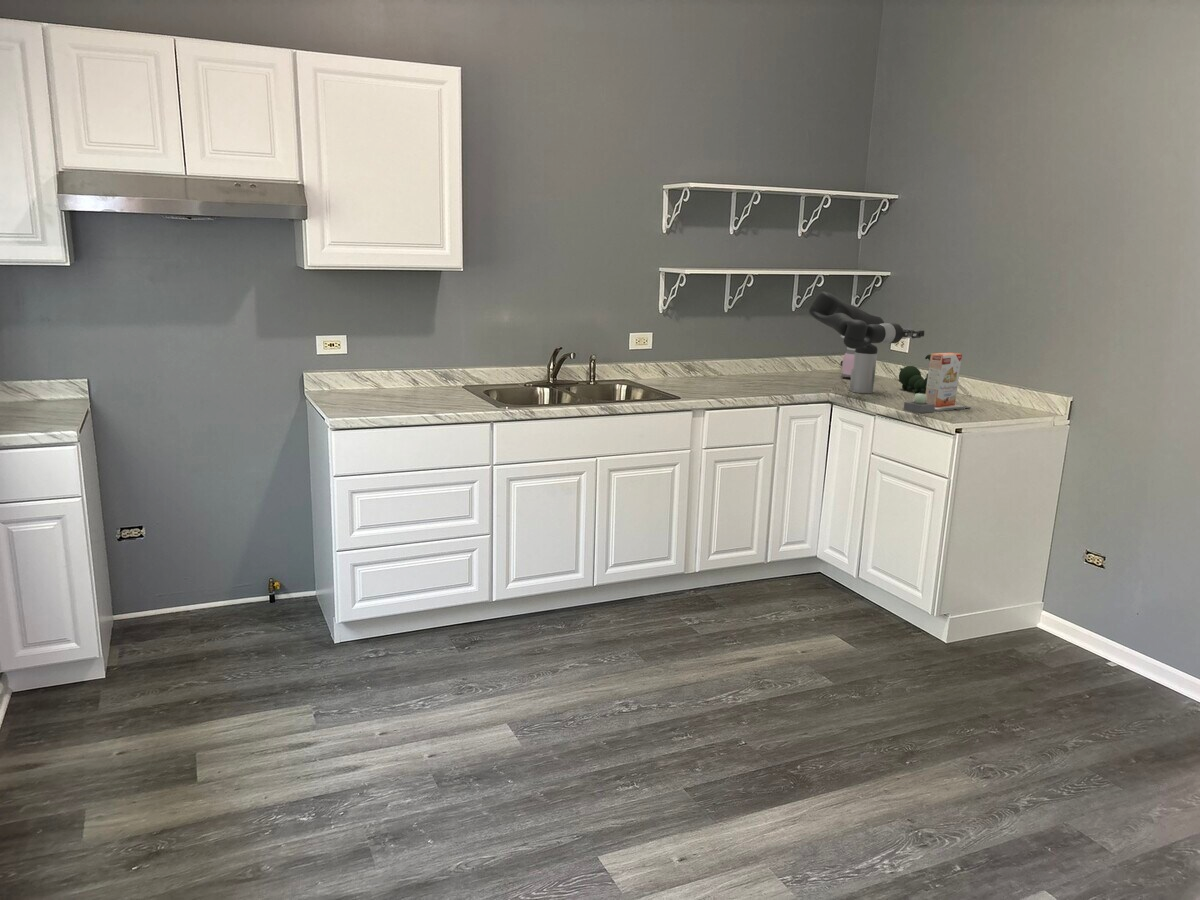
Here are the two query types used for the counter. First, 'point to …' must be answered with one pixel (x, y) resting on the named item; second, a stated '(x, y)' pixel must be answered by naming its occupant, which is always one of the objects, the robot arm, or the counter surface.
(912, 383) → the toy figurine
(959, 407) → the mat
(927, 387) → the cracker box
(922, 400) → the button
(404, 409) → the counter surface
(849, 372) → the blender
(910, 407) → the grey square holder
